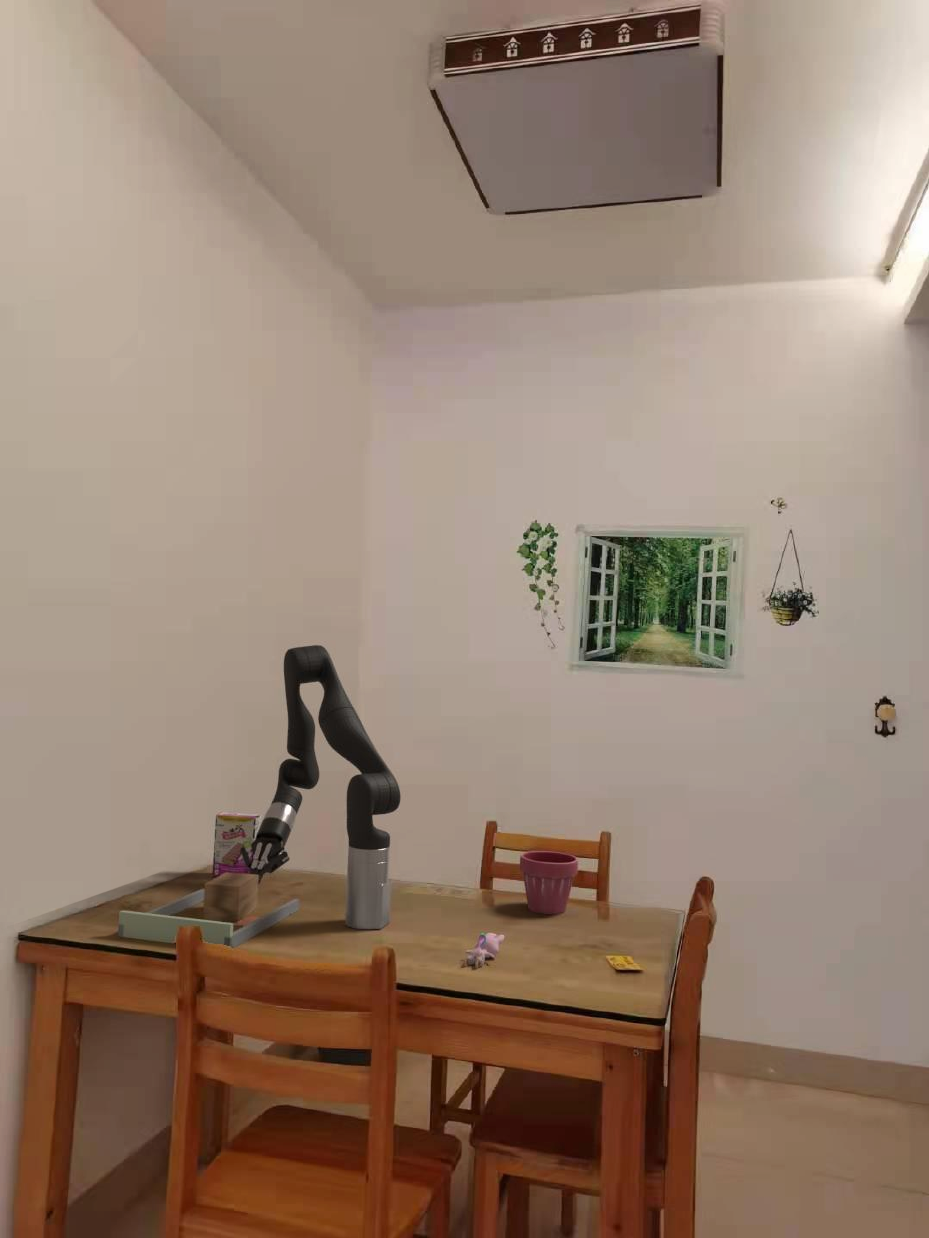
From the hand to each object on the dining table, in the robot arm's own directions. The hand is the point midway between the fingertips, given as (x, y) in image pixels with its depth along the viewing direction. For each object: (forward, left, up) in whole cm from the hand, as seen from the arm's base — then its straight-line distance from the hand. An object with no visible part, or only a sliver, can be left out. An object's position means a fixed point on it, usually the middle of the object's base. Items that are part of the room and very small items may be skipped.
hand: (251, 885), depth 222 cm
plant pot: (-67, -23, -5) cm, 71 cm away
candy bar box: (+17, -24, -5) cm, 30 cm away
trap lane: (0, +17, -4) cm, 18 cm away
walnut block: (0, +10, -5) cm, 11 cm away
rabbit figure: (-62, +20, -5) cm, 65 cm away
